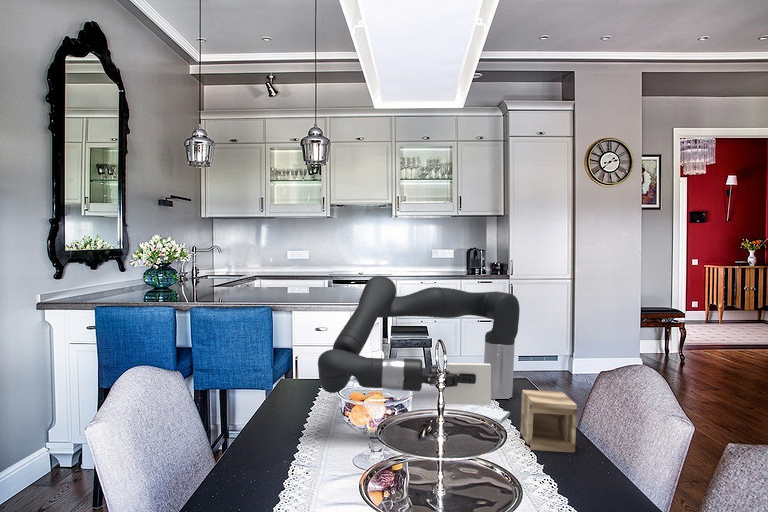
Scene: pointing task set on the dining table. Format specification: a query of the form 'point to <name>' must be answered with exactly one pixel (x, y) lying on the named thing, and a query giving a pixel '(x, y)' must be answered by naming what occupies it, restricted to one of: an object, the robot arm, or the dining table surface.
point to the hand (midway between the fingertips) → (474, 377)
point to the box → (548, 421)
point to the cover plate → (470, 385)
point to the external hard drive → (488, 412)
